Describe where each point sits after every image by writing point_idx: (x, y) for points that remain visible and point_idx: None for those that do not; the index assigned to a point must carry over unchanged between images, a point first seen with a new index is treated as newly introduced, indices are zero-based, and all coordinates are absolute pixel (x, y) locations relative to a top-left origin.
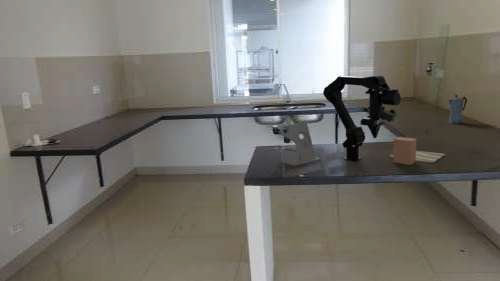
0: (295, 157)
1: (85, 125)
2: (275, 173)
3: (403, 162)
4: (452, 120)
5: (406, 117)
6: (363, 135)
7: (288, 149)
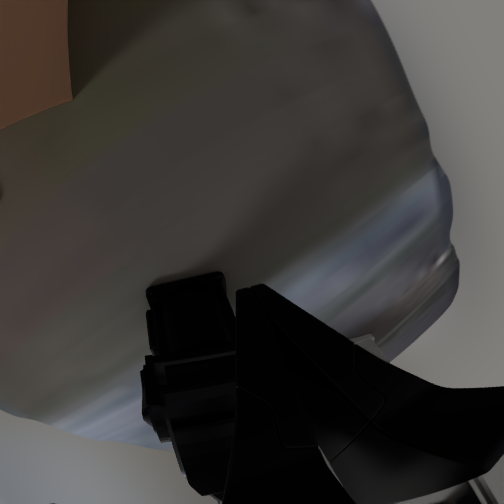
0: (382, 353)
1: None
2: (432, 301)
3: (64, 27)
4: None
5: None
6: (190, 414)
7: None
